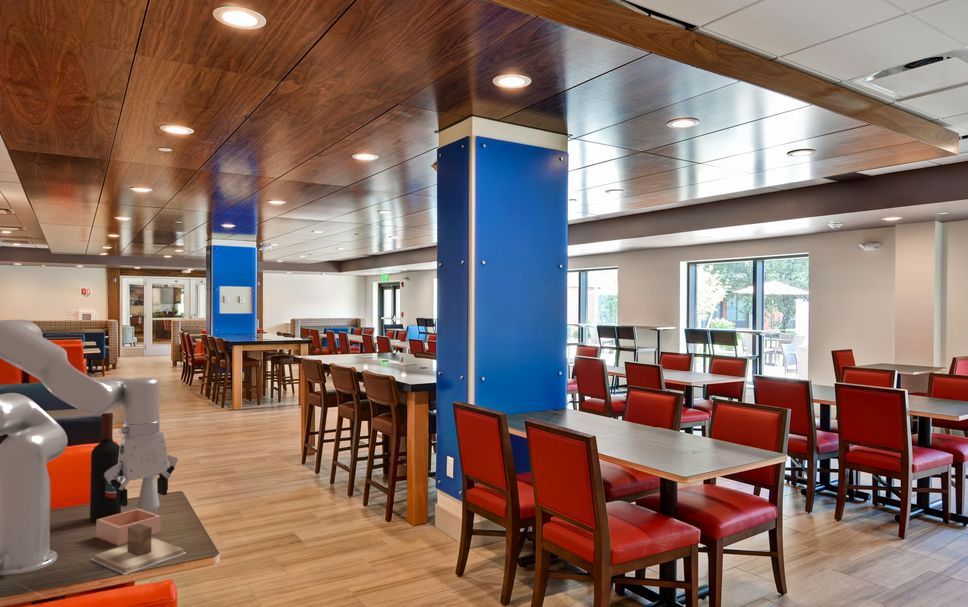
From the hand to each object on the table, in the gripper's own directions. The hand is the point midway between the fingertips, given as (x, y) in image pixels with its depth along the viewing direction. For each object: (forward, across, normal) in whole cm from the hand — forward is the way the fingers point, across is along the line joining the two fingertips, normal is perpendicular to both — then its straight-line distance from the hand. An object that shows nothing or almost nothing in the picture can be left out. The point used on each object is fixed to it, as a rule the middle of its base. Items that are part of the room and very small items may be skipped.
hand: (142, 499), depth 150 cm
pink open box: (+14, +5, +17) cm, 22 cm away
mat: (+14, -1, +1) cm, 14 cm away
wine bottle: (+14, +9, +37) cm, 40 cm away
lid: (+14, -1, +1) cm, 14 cm away
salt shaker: (+14, +18, +31) cm, 38 cm away
